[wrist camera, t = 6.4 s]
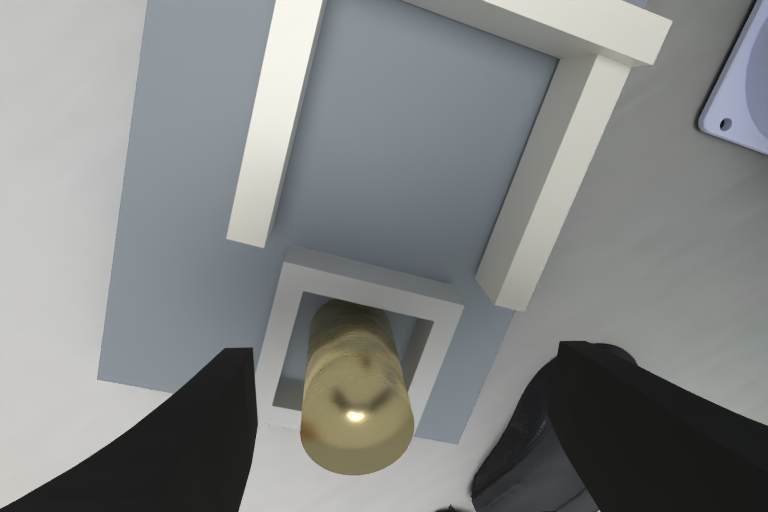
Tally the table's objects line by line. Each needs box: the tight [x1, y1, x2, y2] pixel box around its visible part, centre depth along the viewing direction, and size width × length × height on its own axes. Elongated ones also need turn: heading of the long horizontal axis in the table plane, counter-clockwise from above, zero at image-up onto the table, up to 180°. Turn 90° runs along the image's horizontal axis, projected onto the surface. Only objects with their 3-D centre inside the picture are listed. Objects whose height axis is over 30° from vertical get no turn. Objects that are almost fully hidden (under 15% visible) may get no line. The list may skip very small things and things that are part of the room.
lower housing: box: [226, 0, 673, 312], centre depth 15 cm, size 11×10×4 cm
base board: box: [97, 0, 648, 449], centre depth 17 cm, size 16×24×4 cm, turn 163°
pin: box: [300, 298, 414, 475], centre depth 17 cm, size 3×3×6 cm
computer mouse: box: [449, 344, 638, 512], centre depth 24 cm, size 10×15×4 cm
